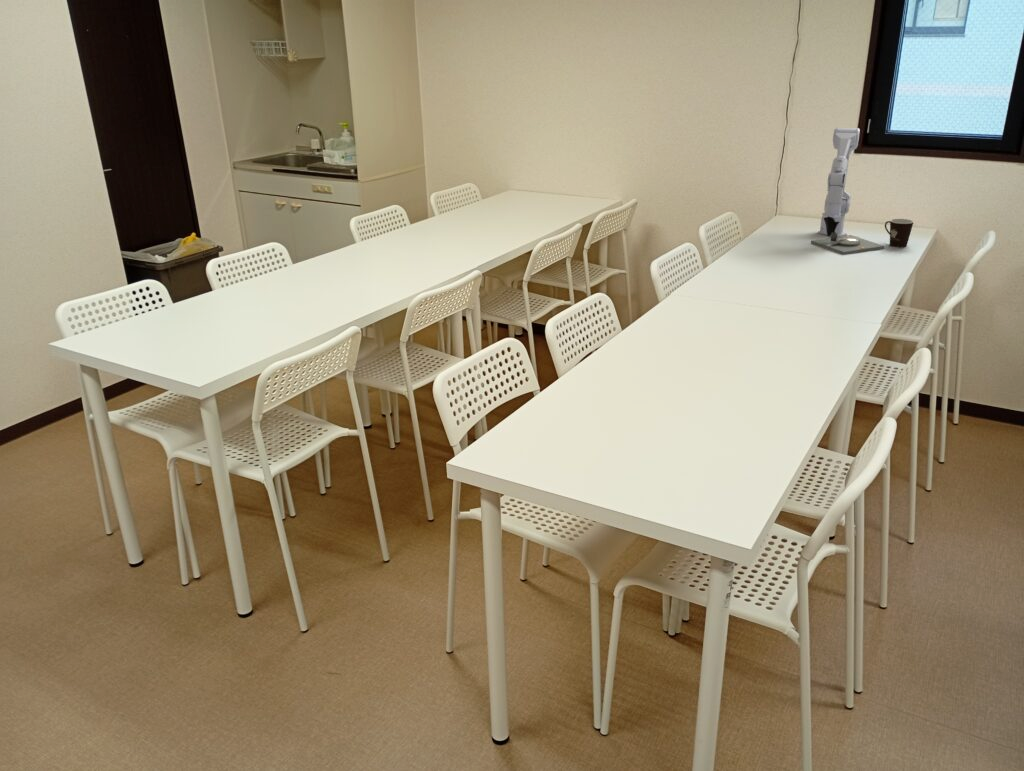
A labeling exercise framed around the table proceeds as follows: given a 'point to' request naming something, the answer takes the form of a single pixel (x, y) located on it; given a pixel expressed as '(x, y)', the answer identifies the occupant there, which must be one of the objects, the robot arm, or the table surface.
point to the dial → (844, 240)
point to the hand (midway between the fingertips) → (830, 235)
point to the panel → (844, 250)
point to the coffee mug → (899, 232)
